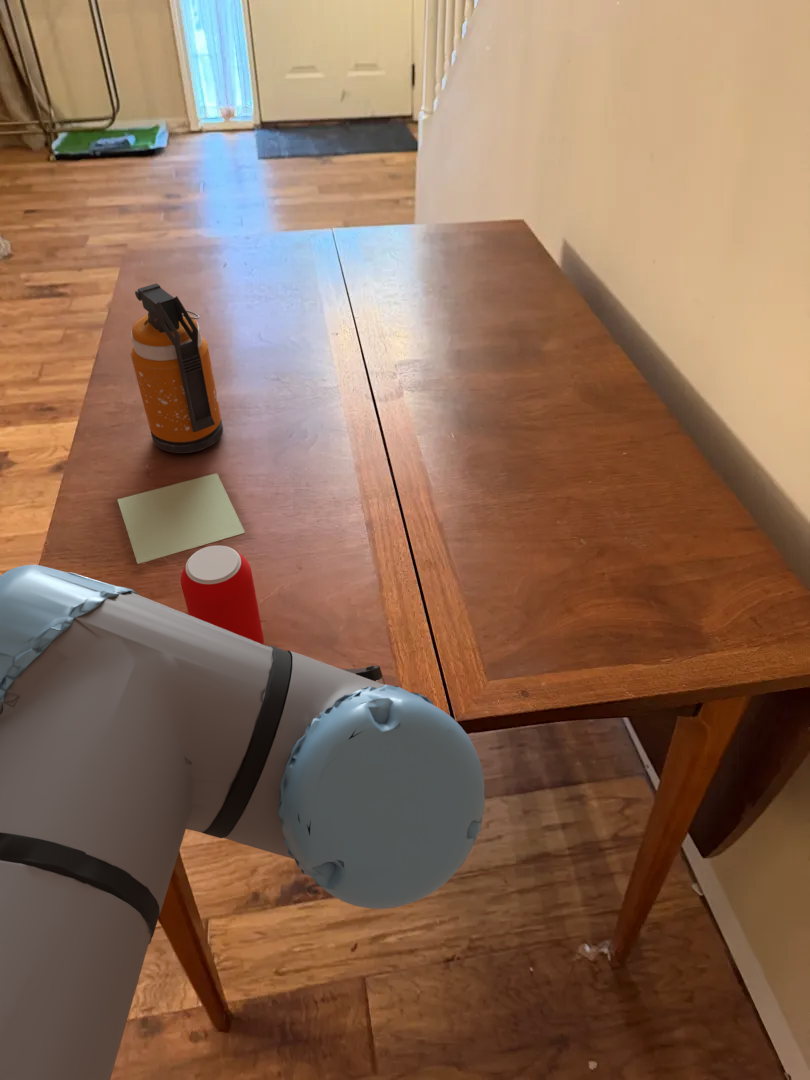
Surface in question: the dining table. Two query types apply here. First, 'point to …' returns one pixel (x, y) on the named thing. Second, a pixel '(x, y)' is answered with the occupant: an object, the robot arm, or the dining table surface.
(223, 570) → the beverage can
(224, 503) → the felt mat
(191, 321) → the canister
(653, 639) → the dining table surface
